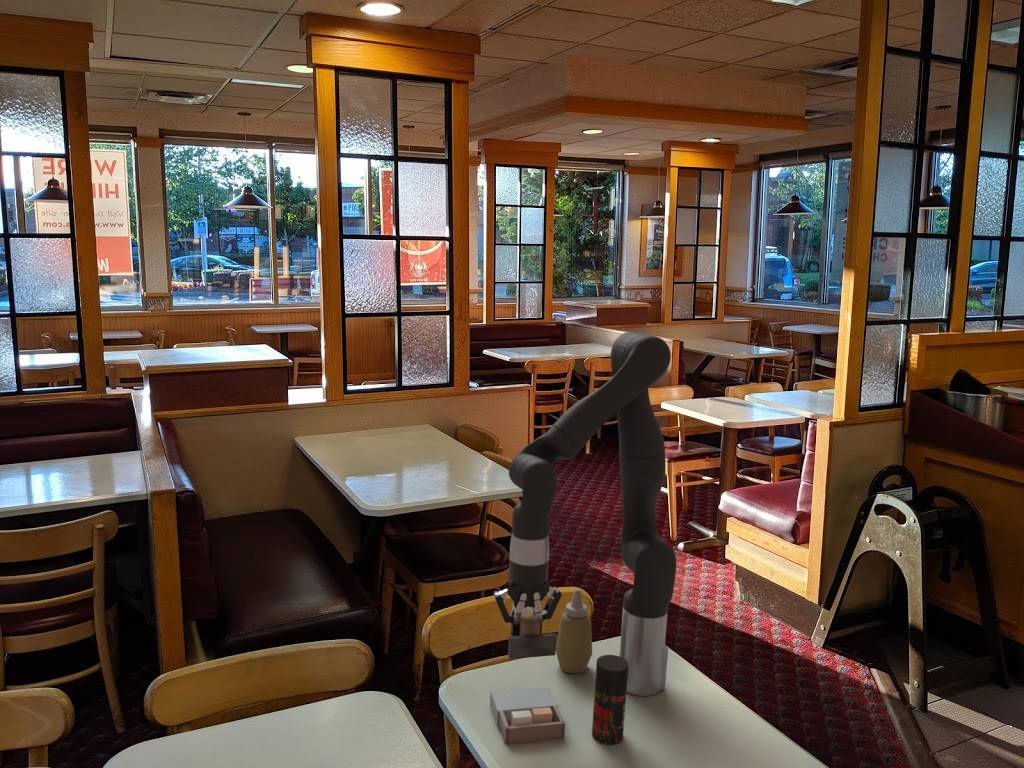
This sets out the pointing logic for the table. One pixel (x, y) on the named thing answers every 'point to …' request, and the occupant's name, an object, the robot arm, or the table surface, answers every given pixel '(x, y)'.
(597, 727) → the deodorant
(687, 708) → the table surface
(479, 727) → the table surface
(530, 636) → the scraper
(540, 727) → the box
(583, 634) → the squeeze bottle
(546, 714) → the tile
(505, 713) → the grey flat-topped cover
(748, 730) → the table surface
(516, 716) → the tile
